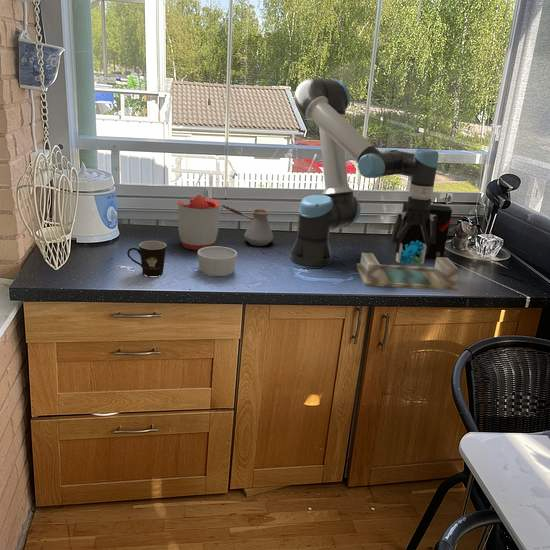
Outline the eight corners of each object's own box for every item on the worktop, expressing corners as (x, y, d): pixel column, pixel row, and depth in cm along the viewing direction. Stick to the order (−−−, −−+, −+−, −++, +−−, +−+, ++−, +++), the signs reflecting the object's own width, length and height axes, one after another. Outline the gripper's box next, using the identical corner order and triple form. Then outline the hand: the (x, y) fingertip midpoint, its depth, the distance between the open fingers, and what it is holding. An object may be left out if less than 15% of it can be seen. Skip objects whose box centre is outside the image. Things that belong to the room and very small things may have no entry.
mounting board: (364, 285, 191) (367, 265, 188) (356, 268, 206) (358, 249, 203) (457, 290, 193) (461, 270, 191) (442, 273, 208) (445, 254, 206)
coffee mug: (170, 272, 189) (171, 243, 185) (157, 280, 181) (157, 251, 178) (140, 265, 192) (140, 237, 189) (126, 274, 185) (125, 244, 181)
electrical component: (438, 253, 231) (448, 205, 223) (443, 261, 221) (453, 211, 214) (395, 248, 232) (403, 200, 225) (398, 256, 222) (406, 207, 215)
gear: (393, 252, 200) (416, 234, 198) (402, 263, 203) (425, 245, 200) (402, 267, 191) (426, 248, 188) (411, 278, 193) (436, 260, 191)
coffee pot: (270, 238, 232) (273, 202, 226) (274, 247, 221) (277, 210, 216) (217, 237, 228) (219, 201, 222) (220, 246, 217) (221, 208, 212)
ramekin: (189, 273, 189) (190, 254, 187) (208, 262, 201) (209, 243, 198) (225, 281, 185) (226, 261, 183) (242, 269, 197) (243, 250, 194)
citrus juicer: (193, 236, 227) (195, 186, 220) (226, 246, 218) (229, 195, 211) (165, 244, 215) (165, 192, 208) (199, 255, 206) (200, 202, 199)
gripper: (392, 198, 184) (382, 264, 192) (454, 201, 185) (441, 267, 193) (387, 192, 191) (377, 256, 199) (446, 196, 192) (435, 259, 200)
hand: (409, 261), depth 196 cm, fingers closed on gear, 8 cm apart
